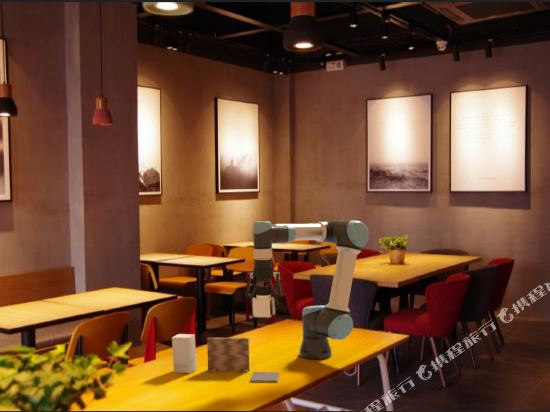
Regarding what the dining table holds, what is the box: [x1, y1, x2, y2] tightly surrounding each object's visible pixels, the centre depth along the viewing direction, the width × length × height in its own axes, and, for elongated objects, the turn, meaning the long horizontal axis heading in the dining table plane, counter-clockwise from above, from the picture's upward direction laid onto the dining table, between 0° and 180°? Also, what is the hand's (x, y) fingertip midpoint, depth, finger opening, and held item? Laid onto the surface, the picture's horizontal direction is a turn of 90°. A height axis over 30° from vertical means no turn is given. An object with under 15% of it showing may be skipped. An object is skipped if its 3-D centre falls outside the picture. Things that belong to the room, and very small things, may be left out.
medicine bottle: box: [253, 285, 274, 318], centre depth 246 cm, size 7×7×12 cm
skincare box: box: [171, 333, 197, 374], centre depth 258 cm, size 8×7×16 cm
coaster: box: [249, 371, 280, 383], centre depth 247 cm, size 11×11×1 cm
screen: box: [206, 337, 250, 373], centre depth 258 cm, size 18×6×14 cm, turn 85°
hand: (263, 313), depth 246 cm, fingers closed on medicine bottle, 7 cm apart
